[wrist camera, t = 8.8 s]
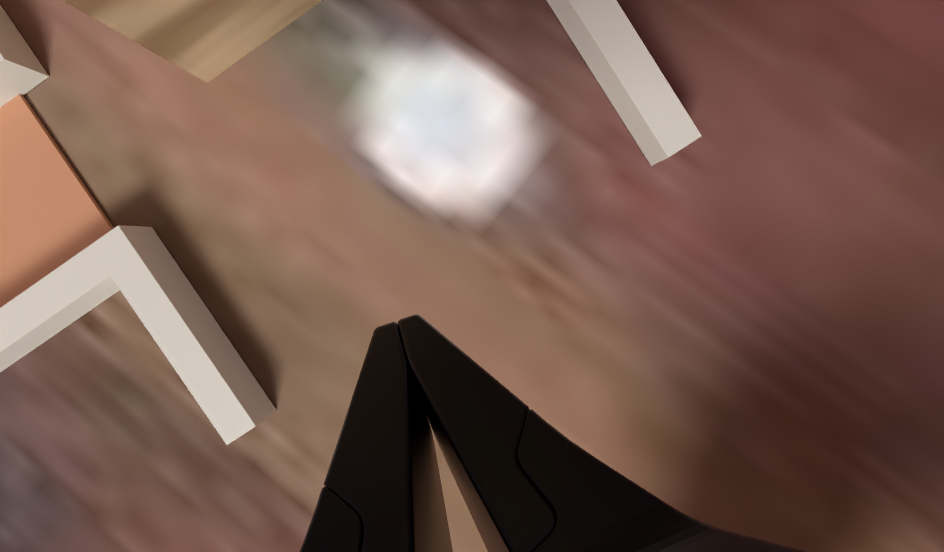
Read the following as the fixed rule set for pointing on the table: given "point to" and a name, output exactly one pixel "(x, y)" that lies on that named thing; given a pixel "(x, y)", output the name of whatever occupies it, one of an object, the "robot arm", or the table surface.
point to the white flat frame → (149, 262)
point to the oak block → (197, 27)
